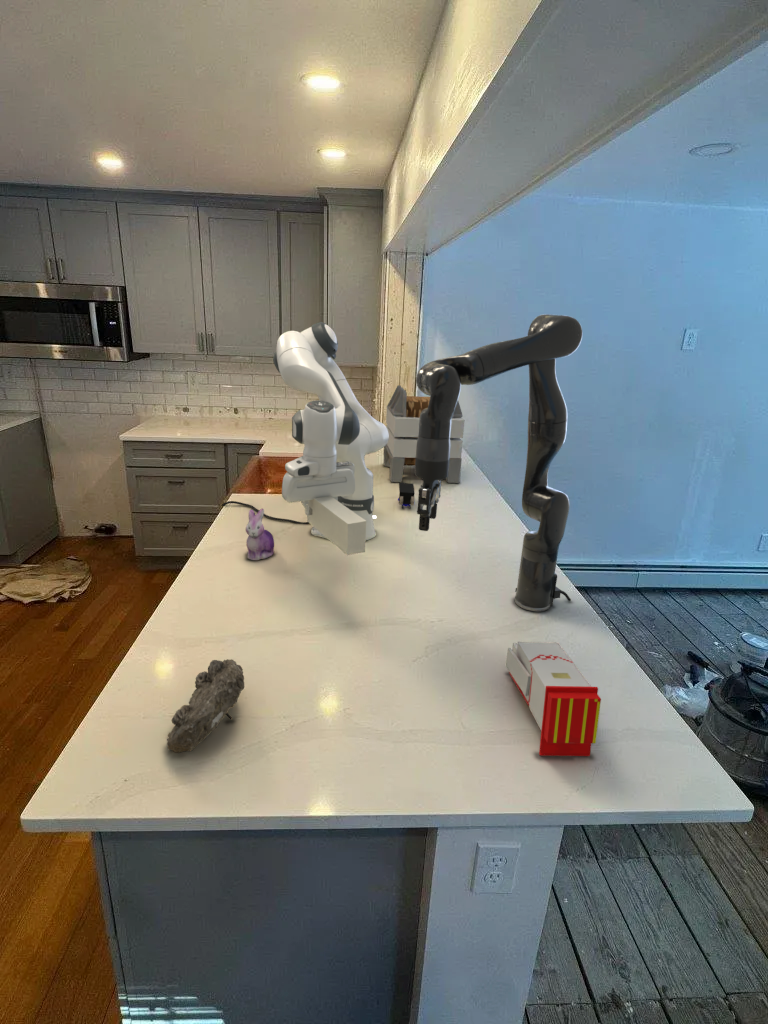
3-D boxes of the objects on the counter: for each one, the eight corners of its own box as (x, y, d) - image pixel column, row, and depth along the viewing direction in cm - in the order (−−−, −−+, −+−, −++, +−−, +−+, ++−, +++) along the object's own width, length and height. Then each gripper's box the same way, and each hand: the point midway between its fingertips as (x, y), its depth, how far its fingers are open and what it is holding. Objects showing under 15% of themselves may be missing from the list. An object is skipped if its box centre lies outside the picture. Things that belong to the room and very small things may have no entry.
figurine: (249, 563, 172) (248, 517, 167) (241, 550, 180) (239, 506, 175) (280, 558, 176) (279, 513, 171) (270, 546, 184) (269, 502, 179)
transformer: (382, 463, 289) (386, 382, 275) (445, 464, 293) (451, 384, 279) (390, 482, 257) (394, 392, 243) (460, 483, 261) (468, 394, 247)
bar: (307, 521, 157) (306, 493, 154) (323, 518, 159) (323, 490, 156) (347, 555, 137) (347, 523, 134) (365, 552, 139) (366, 520, 136)
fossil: (192, 660, 117) (244, 628, 112) (224, 691, 120) (276, 661, 115) (142, 746, 98) (202, 712, 93) (182, 779, 101) (242, 748, 96)
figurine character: (415, 514, 223) (412, 498, 237) (416, 496, 220) (414, 481, 234) (398, 513, 223) (396, 497, 237) (399, 496, 220) (397, 480, 233)
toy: (554, 624, 127) (610, 694, 97) (548, 679, 130) (602, 763, 100) (500, 623, 126) (541, 693, 97) (496, 678, 129) (534, 763, 100)
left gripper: (349, 457, 157) (348, 504, 162) (279, 464, 147) (280, 514, 152) (360, 463, 152) (358, 511, 157) (288, 471, 142) (288, 522, 147)
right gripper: (443, 465, 119) (437, 537, 124) (454, 450, 132) (448, 516, 137) (408, 461, 120) (404, 532, 126) (423, 447, 133) (418, 512, 139)
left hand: (319, 513), depth 154 cm, fingers closed on bar, 5 cm apart
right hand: (427, 523), depth 131 cm, fingers open, 8 cm apart
